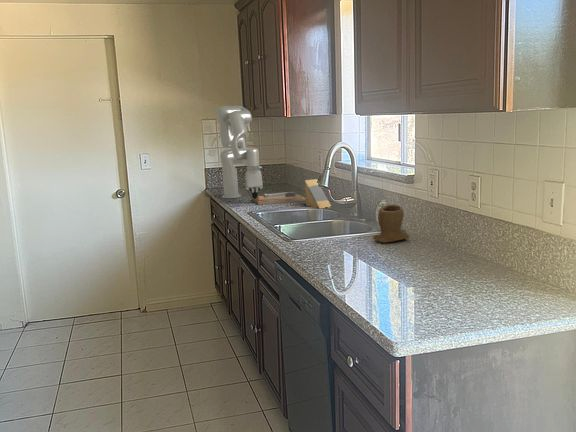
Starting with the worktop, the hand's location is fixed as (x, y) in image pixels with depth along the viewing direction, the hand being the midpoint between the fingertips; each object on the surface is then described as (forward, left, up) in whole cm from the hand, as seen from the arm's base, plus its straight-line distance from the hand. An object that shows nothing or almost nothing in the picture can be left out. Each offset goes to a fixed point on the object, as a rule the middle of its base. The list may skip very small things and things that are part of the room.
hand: (254, 198), depth 353 cm
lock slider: (0, +3, -1) cm, 4 cm away
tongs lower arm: (-3, +15, -1) cm, 15 cm away
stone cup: (+131, +28, -3) cm, 134 cm away
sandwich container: (+31, +31, -3) cm, 44 cm away
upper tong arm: (-3, +17, 0) cm, 17 cm away
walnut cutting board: (-3, +15, -3) cm, 16 cm away
